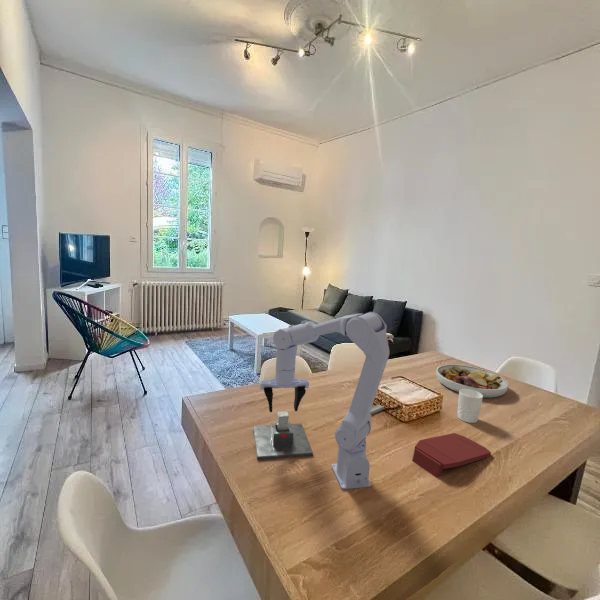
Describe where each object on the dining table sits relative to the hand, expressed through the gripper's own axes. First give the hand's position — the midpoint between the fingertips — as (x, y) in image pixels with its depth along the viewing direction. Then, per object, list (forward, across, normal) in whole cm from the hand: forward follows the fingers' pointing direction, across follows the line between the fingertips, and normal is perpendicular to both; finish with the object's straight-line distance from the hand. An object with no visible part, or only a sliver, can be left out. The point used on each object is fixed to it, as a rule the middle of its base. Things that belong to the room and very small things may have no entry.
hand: (283, 410), depth 102 cm
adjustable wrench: (+11, -38, -17) cm, 43 cm away
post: (+9, 0, 0) cm, 9 cm away
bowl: (+11, -94, -35) cm, 101 cm away
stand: (+10, 0, 0) cm, 10 cm away
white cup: (+11, -71, -7) cm, 72 cm away
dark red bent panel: (+11, -50, +13) cm, 53 cm away
